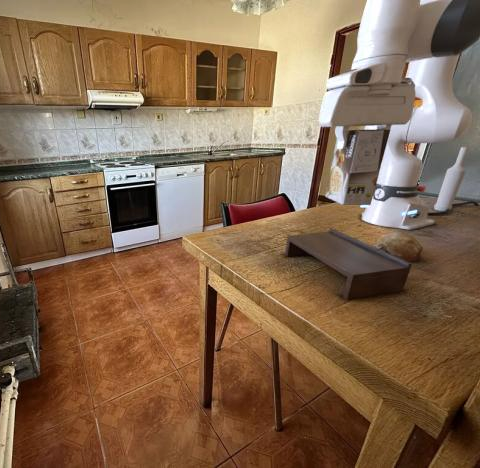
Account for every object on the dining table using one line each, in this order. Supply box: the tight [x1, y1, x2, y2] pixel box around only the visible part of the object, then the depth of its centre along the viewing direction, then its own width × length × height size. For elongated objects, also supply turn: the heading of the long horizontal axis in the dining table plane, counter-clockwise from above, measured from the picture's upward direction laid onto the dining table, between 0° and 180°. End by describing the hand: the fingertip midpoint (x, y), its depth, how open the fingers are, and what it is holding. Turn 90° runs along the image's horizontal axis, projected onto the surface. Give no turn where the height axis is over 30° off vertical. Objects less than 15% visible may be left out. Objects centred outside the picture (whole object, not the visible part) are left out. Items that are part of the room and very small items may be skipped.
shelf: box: [284, 228, 413, 300], centre depth 64 cm, size 14×22×7 cm, turn 10°
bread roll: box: [374, 232, 423, 263], centre depth 71 cm, size 10×10×8 cm
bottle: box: [433, 146, 470, 212], centre depth 103 cm, size 5×5×25 cm
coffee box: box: [325, 129, 390, 206], centre depth 59 cm, size 9×6×16 cm
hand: (358, 148), depth 58 cm, fingers closed on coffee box, 7 cm apart
